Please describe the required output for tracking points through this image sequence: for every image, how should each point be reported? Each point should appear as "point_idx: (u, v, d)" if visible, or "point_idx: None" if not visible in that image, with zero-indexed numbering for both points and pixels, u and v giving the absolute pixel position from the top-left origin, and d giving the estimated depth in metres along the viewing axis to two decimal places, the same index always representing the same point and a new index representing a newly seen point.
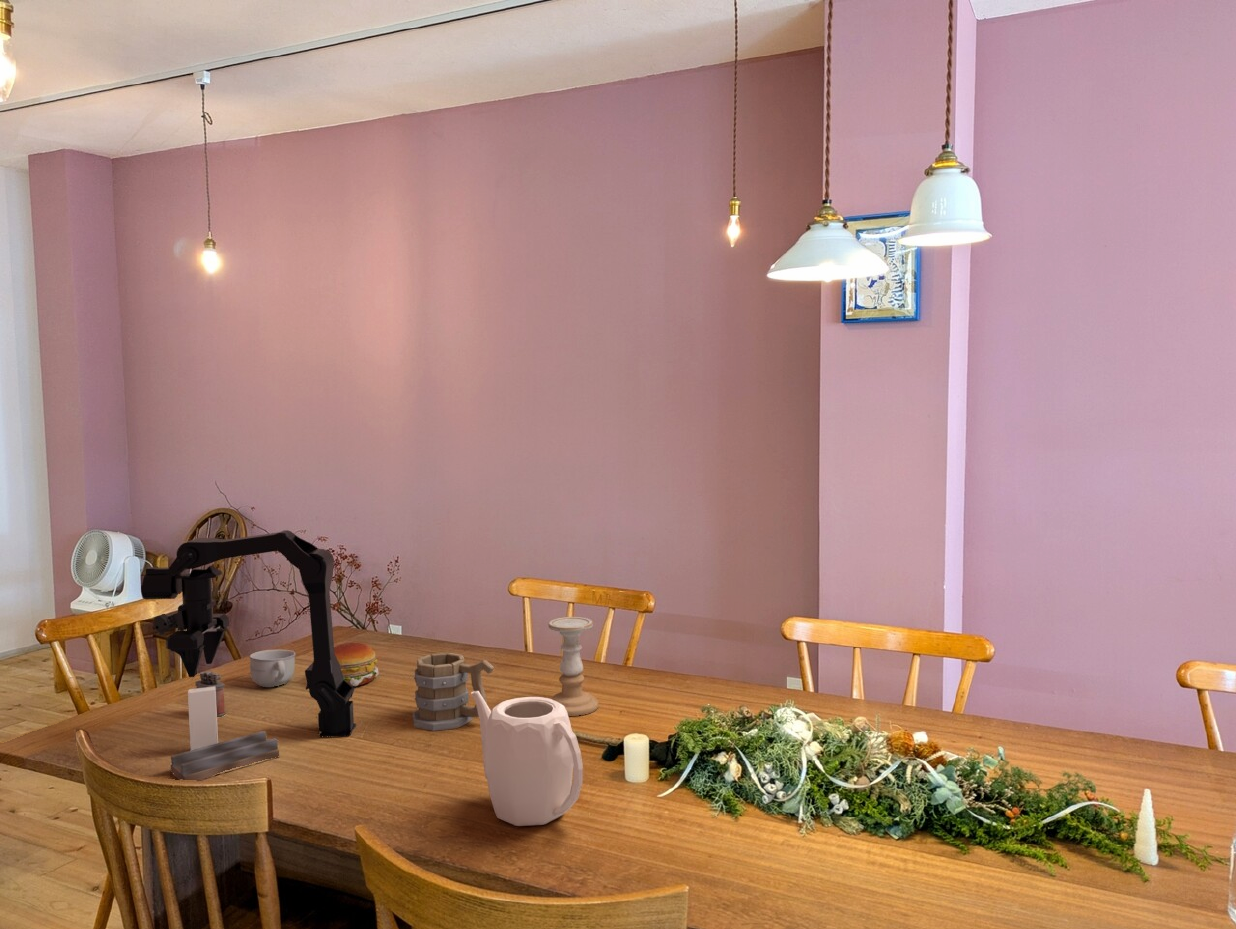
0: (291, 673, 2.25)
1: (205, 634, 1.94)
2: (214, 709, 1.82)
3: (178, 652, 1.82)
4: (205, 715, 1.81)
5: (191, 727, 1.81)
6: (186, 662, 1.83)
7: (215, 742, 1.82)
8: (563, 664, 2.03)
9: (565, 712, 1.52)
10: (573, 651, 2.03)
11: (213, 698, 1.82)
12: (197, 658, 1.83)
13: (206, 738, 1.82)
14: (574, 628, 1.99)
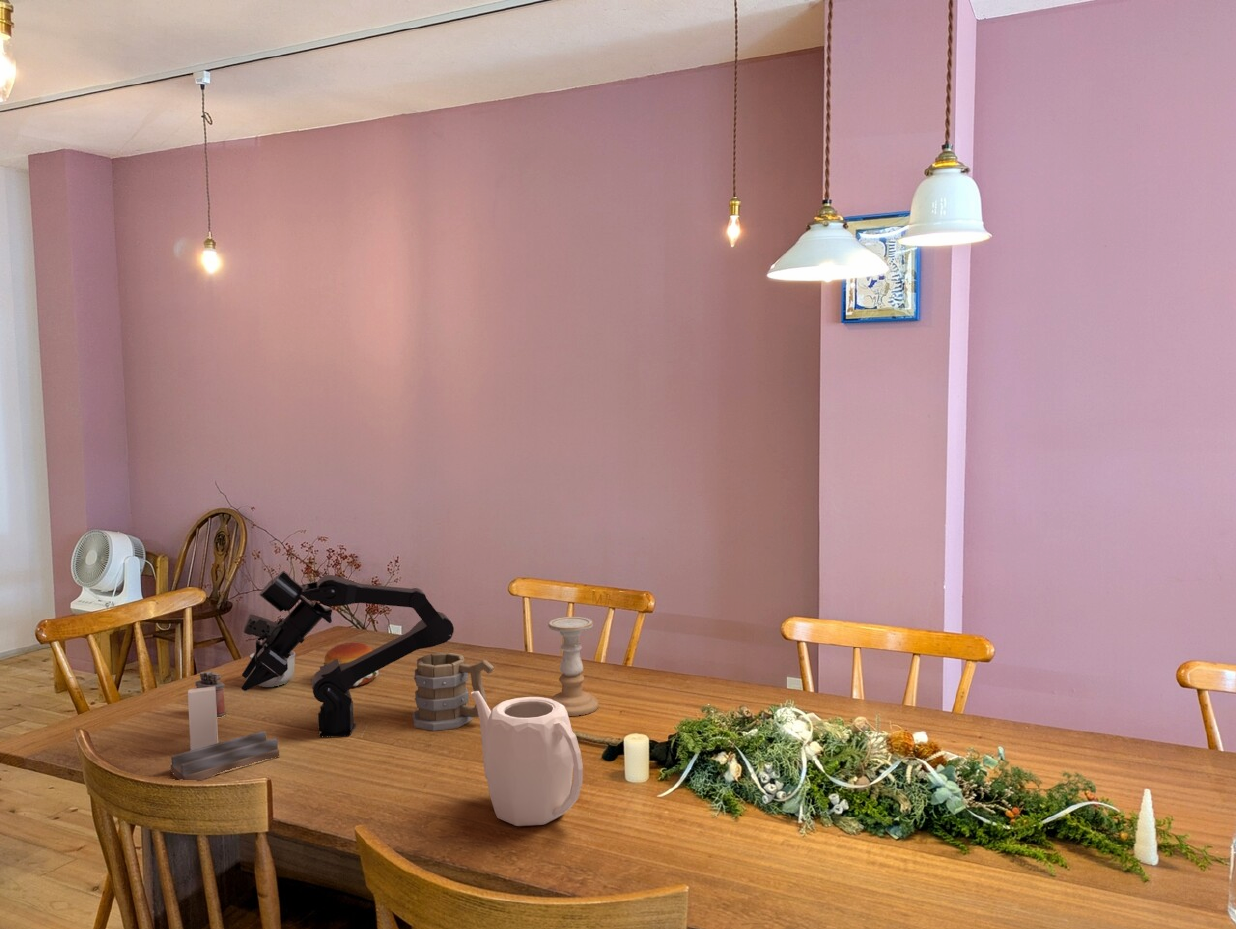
0: (291, 673, 2.25)
1: None
2: (214, 709, 1.82)
3: (257, 665, 1.79)
4: (205, 715, 1.81)
5: (191, 727, 1.81)
6: (253, 676, 1.80)
7: (215, 742, 1.82)
8: (563, 664, 2.03)
9: (565, 712, 1.52)
10: (573, 651, 2.03)
11: (213, 698, 1.82)
12: (265, 680, 1.81)
13: (206, 738, 1.82)
14: (574, 628, 1.99)
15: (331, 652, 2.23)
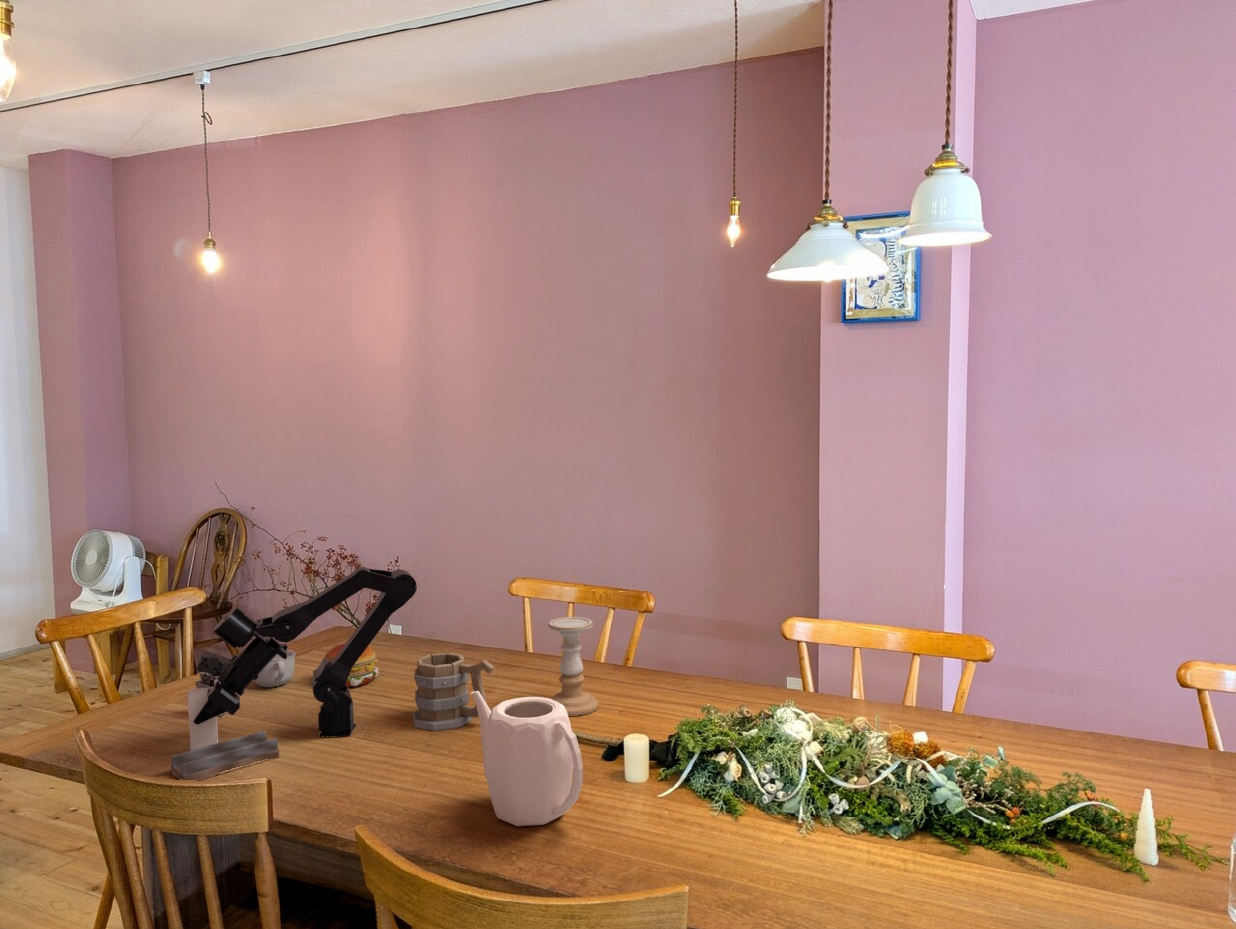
0: (291, 673, 2.25)
1: None
2: None
3: (209, 699, 1.79)
4: None
5: (191, 727, 1.80)
6: (205, 710, 1.80)
7: (215, 742, 1.82)
8: (563, 664, 2.03)
9: (565, 712, 1.52)
10: (573, 651, 2.03)
11: None
12: (218, 714, 1.81)
13: (206, 738, 1.82)
14: (574, 628, 1.99)
15: (331, 652, 2.23)
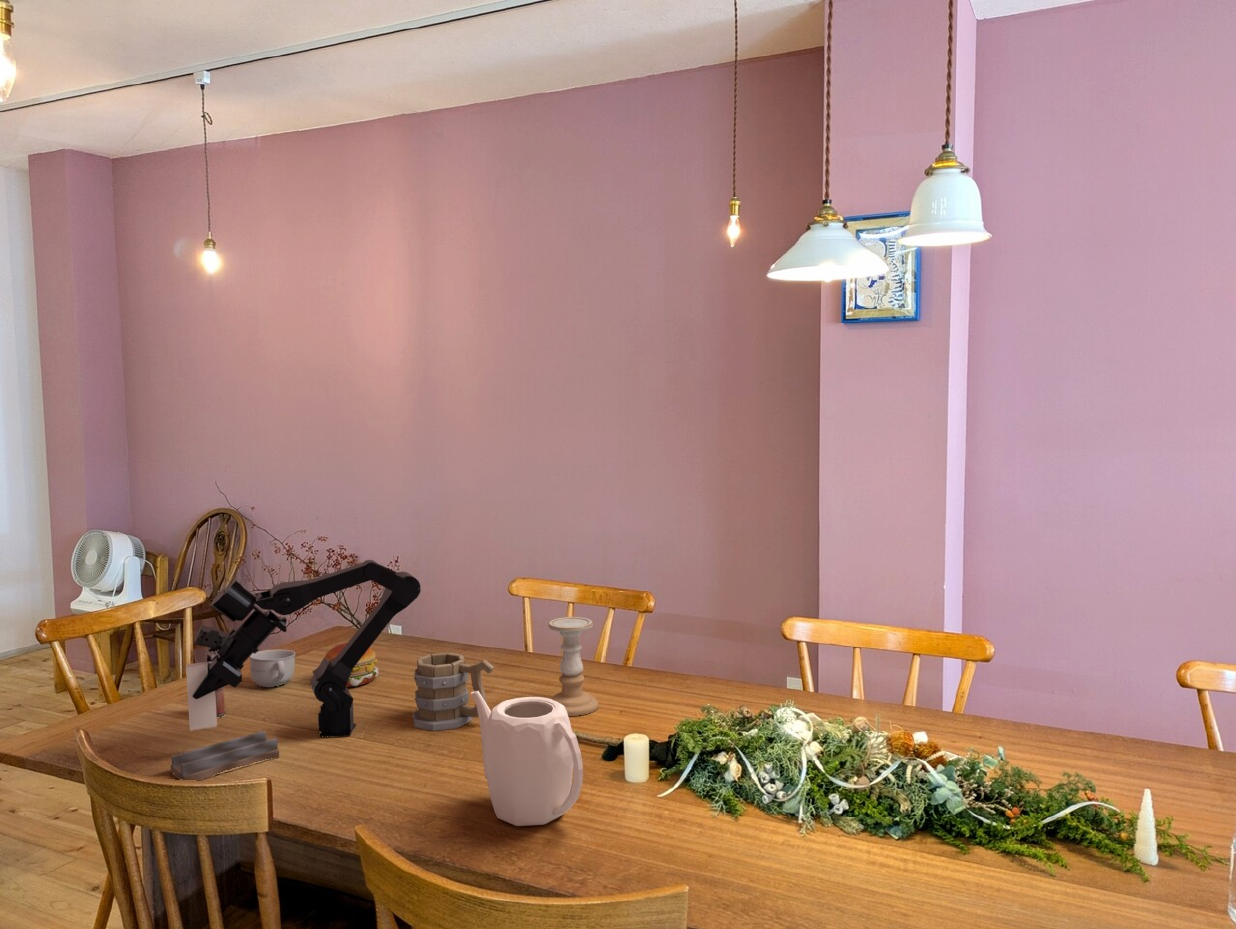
0: (291, 673, 2.25)
1: None
2: None
3: (209, 672, 1.77)
4: None
5: (190, 702, 1.78)
6: (205, 684, 1.78)
7: (214, 717, 1.80)
8: (563, 664, 2.03)
9: (565, 712, 1.52)
10: (573, 651, 2.03)
11: None
12: (217, 688, 1.79)
13: (205, 713, 1.80)
14: (574, 628, 1.99)
15: (331, 652, 2.23)
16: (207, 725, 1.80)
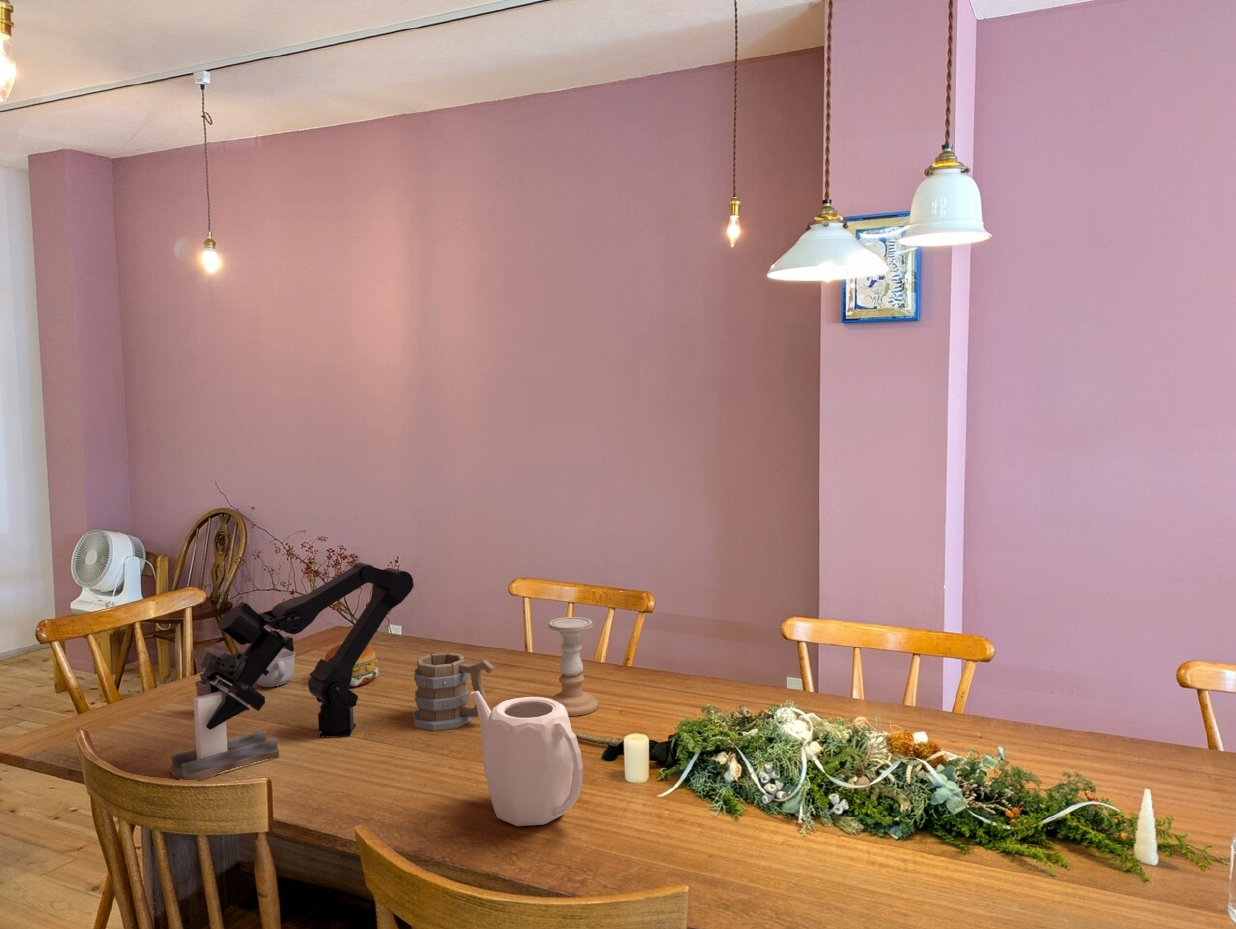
0: (291, 673, 2.25)
1: (218, 691, 1.77)
2: None
3: (226, 700, 1.71)
4: None
5: (201, 736, 1.71)
6: (220, 713, 1.71)
7: (225, 749, 1.75)
8: (563, 664, 2.03)
9: (565, 712, 1.52)
10: (573, 651, 2.03)
11: None
12: (233, 715, 1.73)
13: (216, 746, 1.73)
14: (574, 628, 1.99)
15: (331, 652, 2.23)
16: None
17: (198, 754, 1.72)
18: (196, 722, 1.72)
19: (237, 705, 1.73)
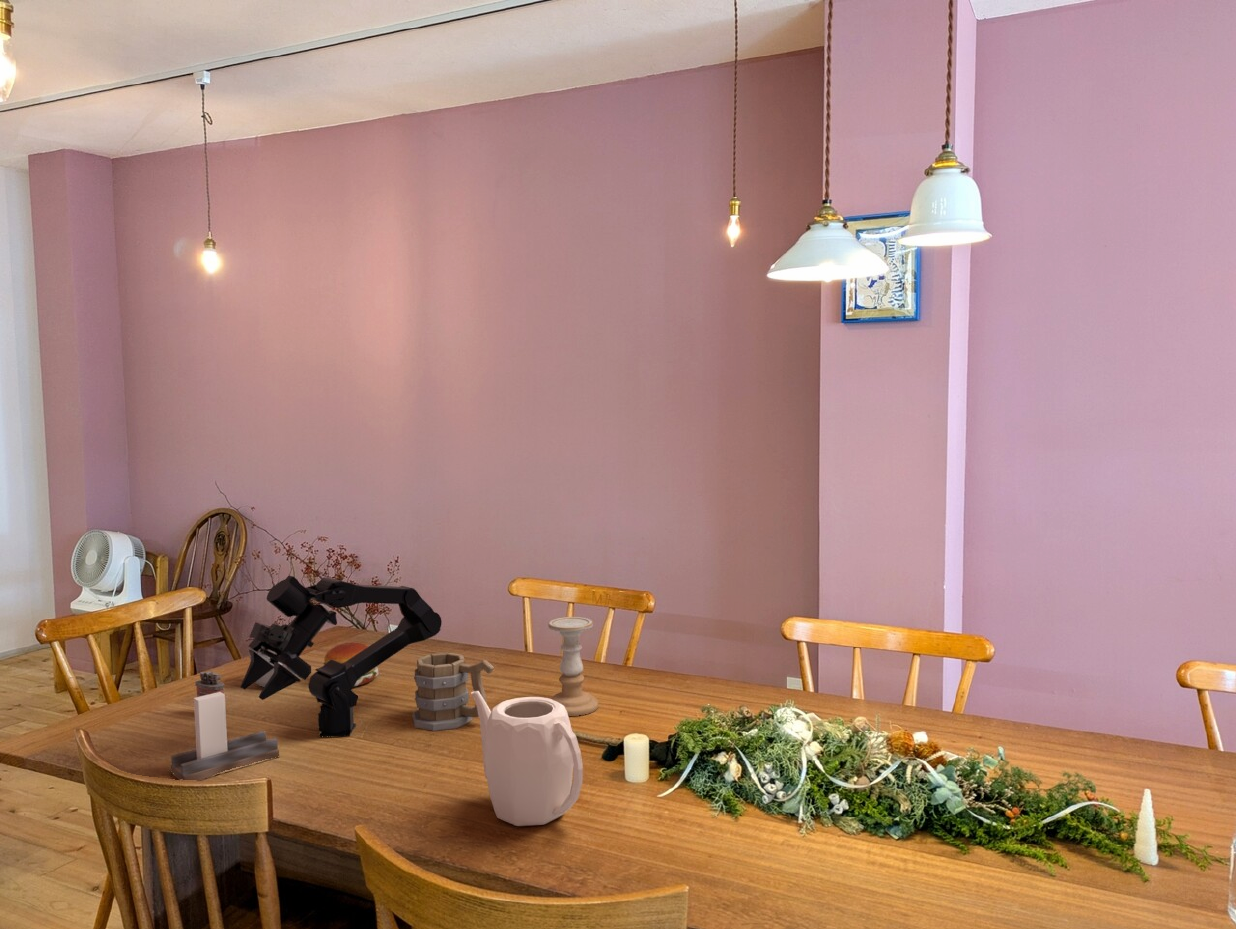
0: None
1: (260, 659, 1.85)
2: (224, 715, 1.74)
3: (279, 671, 1.76)
4: (215, 723, 1.73)
5: (202, 736, 1.71)
6: (273, 683, 1.76)
7: (225, 749, 1.75)
8: (563, 664, 2.03)
9: (565, 712, 1.52)
10: (573, 651, 2.03)
11: (223, 703, 1.74)
12: (285, 686, 1.77)
13: (216, 747, 1.73)
14: (574, 628, 1.99)
15: (331, 652, 2.23)
16: None
17: (198, 754, 1.72)
18: (196, 722, 1.72)
19: (288, 677, 1.78)
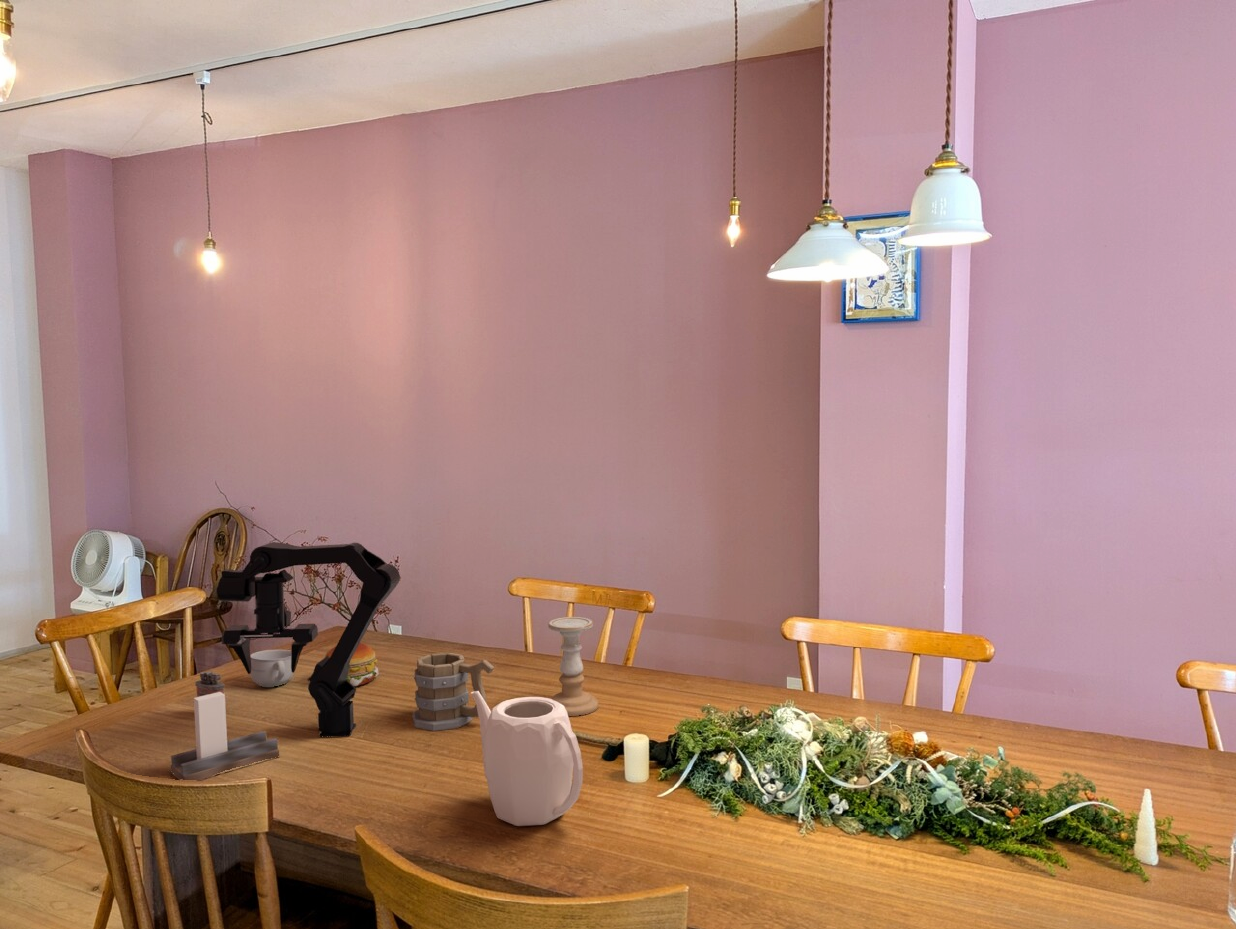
0: (291, 673, 2.25)
1: None
2: (224, 715, 1.74)
3: None
4: (215, 723, 1.73)
5: (202, 736, 1.71)
6: None
7: (225, 749, 1.75)
8: (563, 664, 2.03)
9: (565, 712, 1.52)
10: (573, 651, 2.03)
11: (223, 703, 1.74)
12: None
13: (216, 747, 1.73)
14: (574, 628, 1.99)
15: (331, 652, 2.23)
16: None
17: (198, 754, 1.72)
18: (196, 722, 1.72)
19: None
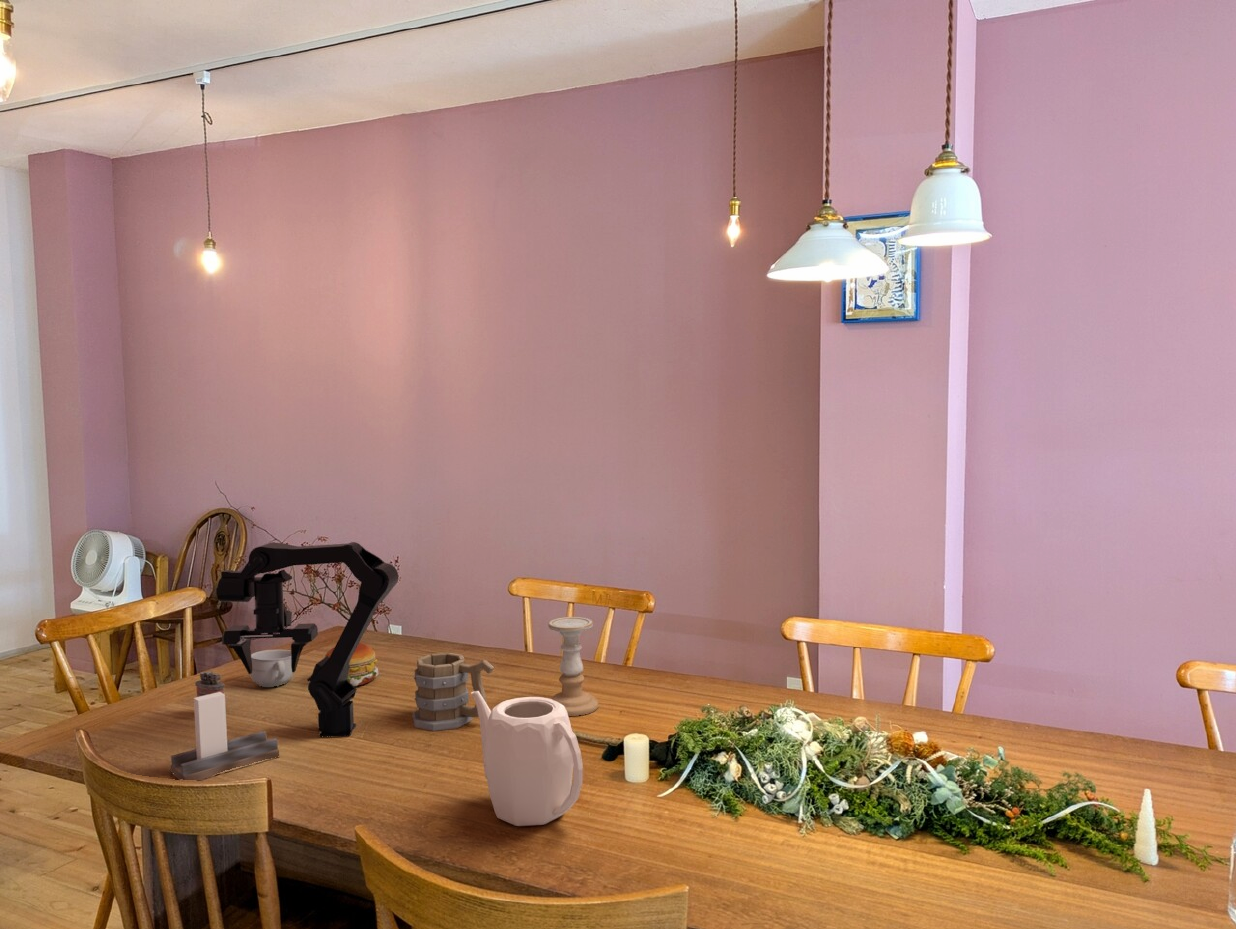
0: (291, 673, 2.25)
1: None
2: (224, 715, 1.74)
3: None
4: (215, 723, 1.73)
5: (202, 736, 1.71)
6: None
7: (225, 749, 1.75)
8: (563, 664, 2.03)
9: (565, 712, 1.52)
10: (573, 651, 2.03)
11: (223, 703, 1.74)
12: None
13: (216, 747, 1.73)
14: (574, 628, 1.99)
15: (331, 652, 2.23)
16: None
17: (198, 754, 1.72)
18: (196, 722, 1.72)
19: None
